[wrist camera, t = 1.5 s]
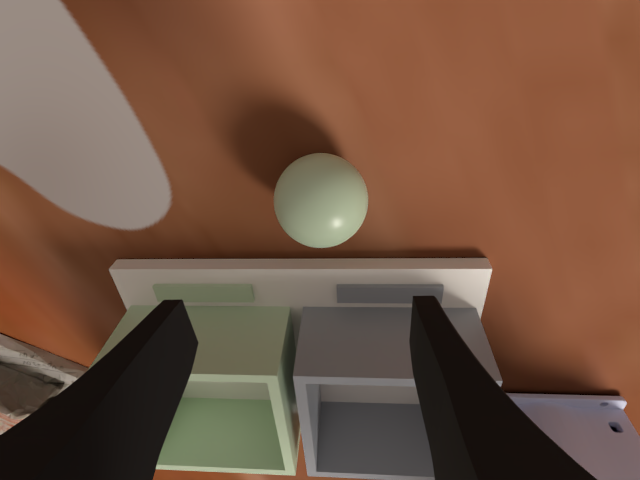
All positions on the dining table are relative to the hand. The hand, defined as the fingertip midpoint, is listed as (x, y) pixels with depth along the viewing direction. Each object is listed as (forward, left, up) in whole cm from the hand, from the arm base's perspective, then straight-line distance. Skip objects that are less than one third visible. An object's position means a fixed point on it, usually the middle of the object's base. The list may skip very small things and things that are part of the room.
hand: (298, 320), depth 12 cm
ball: (0, 0, -8) cm, 8 cm away
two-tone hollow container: (+2, +12, -10) cm, 15 cm away
